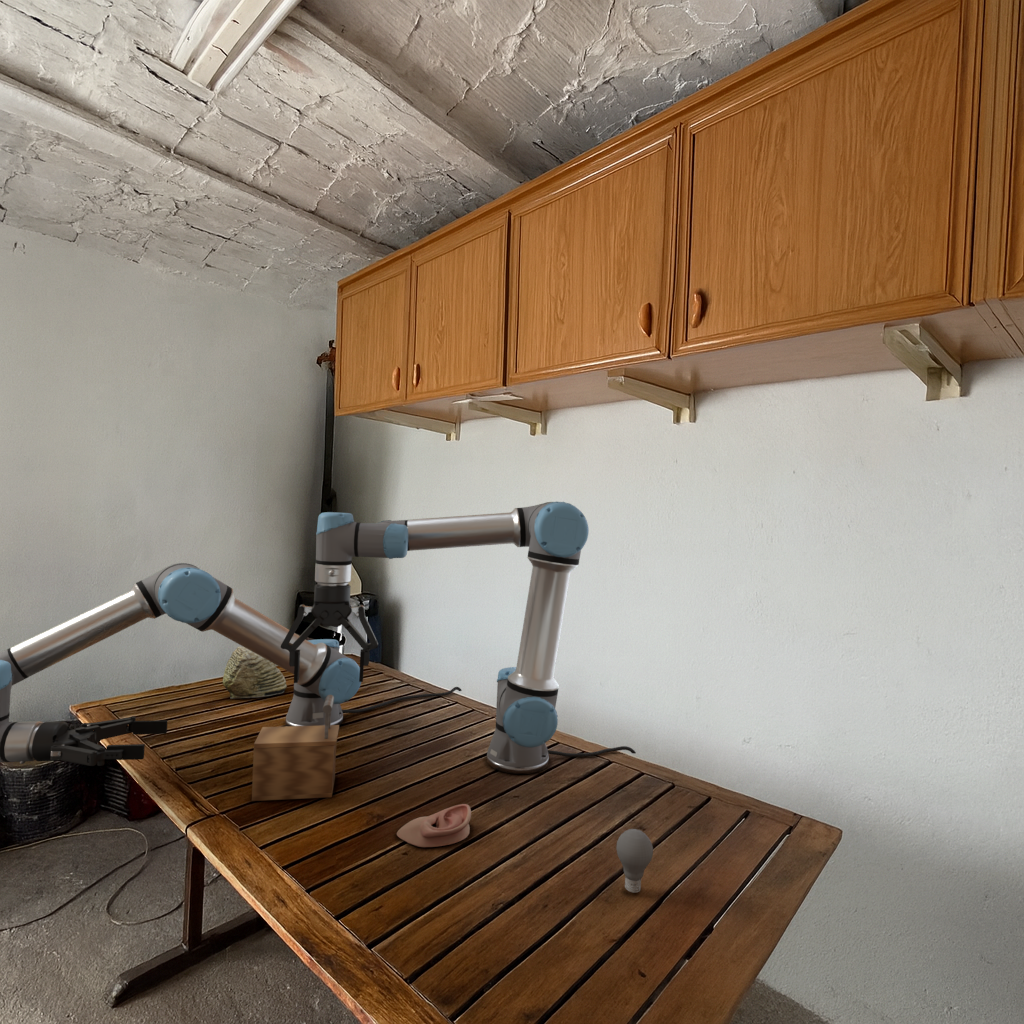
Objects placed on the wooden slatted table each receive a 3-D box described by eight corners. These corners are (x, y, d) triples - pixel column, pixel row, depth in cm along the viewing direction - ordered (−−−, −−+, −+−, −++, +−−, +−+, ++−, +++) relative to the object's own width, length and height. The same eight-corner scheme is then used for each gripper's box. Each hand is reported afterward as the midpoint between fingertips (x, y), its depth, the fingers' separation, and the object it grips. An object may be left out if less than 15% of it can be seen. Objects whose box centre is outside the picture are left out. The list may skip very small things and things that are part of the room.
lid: (339, 729, 143) (340, 692, 143) (336, 745, 134) (337, 706, 134) (262, 731, 140) (263, 693, 140) (253, 748, 130) (255, 708, 130)
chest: (334, 777, 143) (336, 729, 143) (331, 797, 134) (333, 745, 134) (260, 780, 140) (262, 731, 140) (251, 801, 131) (253, 748, 130)
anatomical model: (391, 821, 117) (413, 793, 128) (390, 842, 117) (412, 813, 128) (460, 832, 114) (476, 802, 125) (459, 853, 114) (475, 822, 126)
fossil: (218, 695, 195) (220, 647, 195) (278, 685, 208) (279, 640, 207) (228, 703, 189) (230, 653, 188) (289, 692, 201) (290, 645, 201)
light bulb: (610, 879, 108) (613, 822, 108) (644, 879, 109) (647, 822, 109) (619, 902, 102) (622, 840, 102) (655, 901, 103) (658, 840, 103)
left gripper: (69, 736, 139) (174, 734, 143) (2, 788, 114) (131, 783, 119) (70, 702, 139) (175, 701, 143) (4, 746, 114) (133, 743, 119)
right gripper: (269, 584, 131) (265, 686, 132) (391, 586, 136) (387, 684, 137) (275, 580, 138) (271, 676, 139) (391, 582, 144) (387, 675, 144)
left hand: (156, 738), depth 131 cm, fingers open, 13 cm apart
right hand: (329, 680), depth 138 cm, fingers open, 13 cm apart
